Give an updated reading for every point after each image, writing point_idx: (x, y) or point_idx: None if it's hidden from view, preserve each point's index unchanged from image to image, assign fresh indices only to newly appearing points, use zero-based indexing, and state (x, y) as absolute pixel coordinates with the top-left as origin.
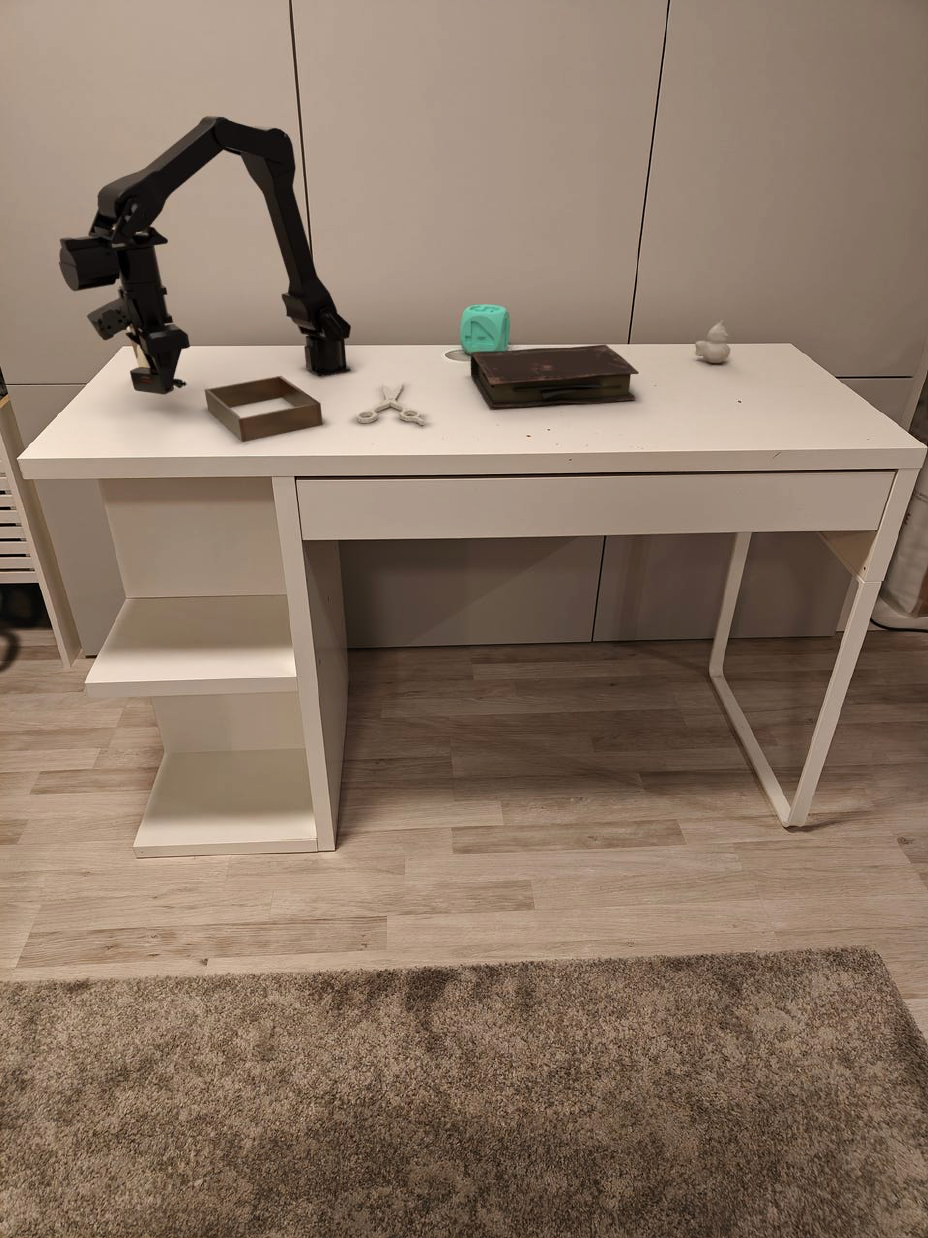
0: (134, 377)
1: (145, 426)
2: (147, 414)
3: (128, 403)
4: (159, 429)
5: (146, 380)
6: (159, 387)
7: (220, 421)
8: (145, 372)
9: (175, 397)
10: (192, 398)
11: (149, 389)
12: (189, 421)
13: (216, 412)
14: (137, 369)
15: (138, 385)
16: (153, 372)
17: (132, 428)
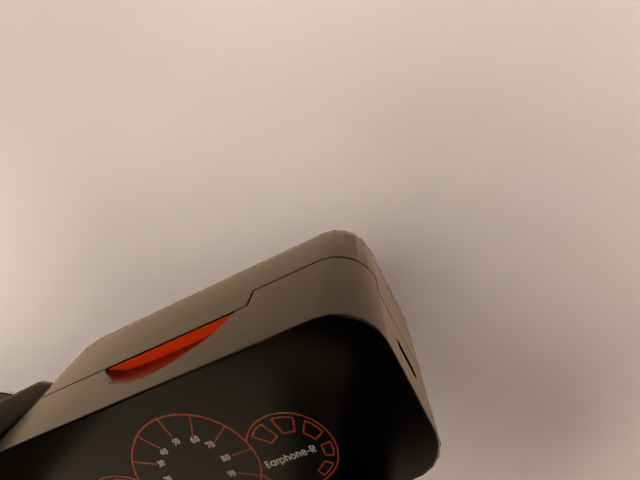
0: (287, 294)
1: (132, 113)
2: (317, 208)
3: (577, 209)
4: (44, 153)
5: (183, 347)
6: (78, 359)
7: (4, 394)
8: (169, 418)
9: (451, 408)
10: None
11: (188, 302)
12: (84, 311)
13: None
14: (355, 408)
15: (275, 267)
16: (118, 468)
17: (142, 34)
